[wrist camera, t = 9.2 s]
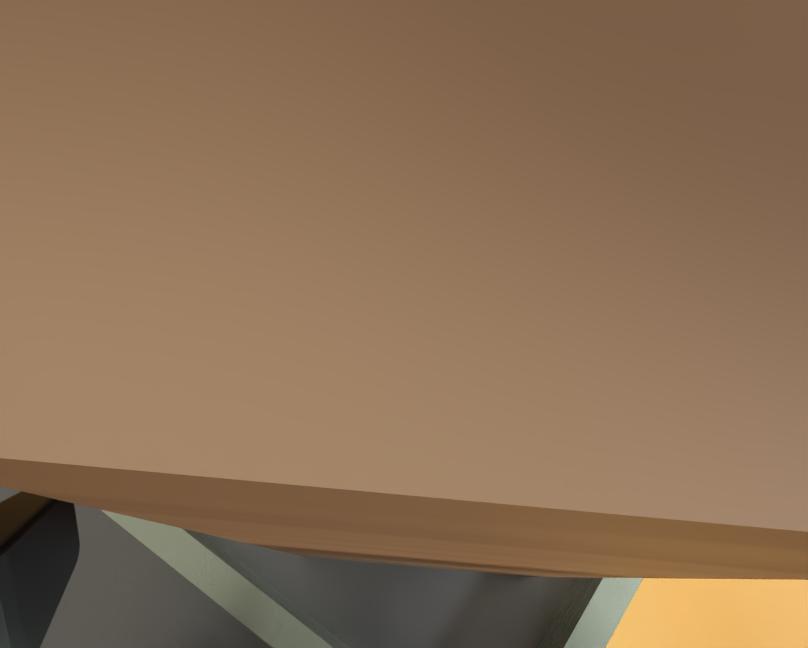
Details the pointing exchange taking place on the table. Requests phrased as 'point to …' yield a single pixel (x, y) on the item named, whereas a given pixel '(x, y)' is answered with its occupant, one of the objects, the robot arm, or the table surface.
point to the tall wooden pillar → (415, 277)
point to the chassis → (306, 598)
